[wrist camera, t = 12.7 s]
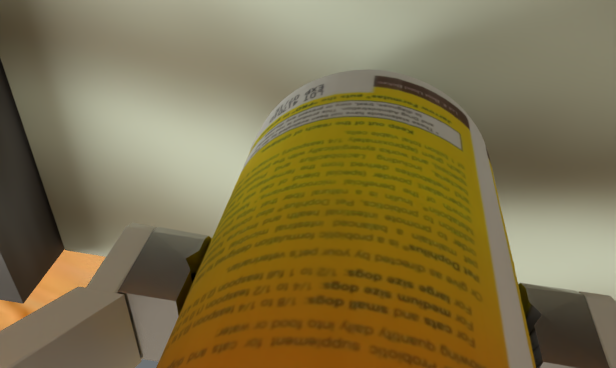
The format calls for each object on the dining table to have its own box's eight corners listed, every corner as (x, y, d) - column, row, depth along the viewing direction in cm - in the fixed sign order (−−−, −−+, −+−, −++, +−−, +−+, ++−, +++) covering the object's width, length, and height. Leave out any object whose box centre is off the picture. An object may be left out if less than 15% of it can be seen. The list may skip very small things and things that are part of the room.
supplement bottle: (213, 122, 12) (-140, 722, 4) (427, 11, 10) (494, 882, 2) (328, 269, 15) (236, 820, 7) (521, 209, 13) (717, 943, 5)
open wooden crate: (48, -304, 16) (-371, -414, 7) (799, -261, 14) (1411, -341, 5) (129, 129, 26) (-11, 297, 17) (577, 190, 24) (671, 415, 15)
